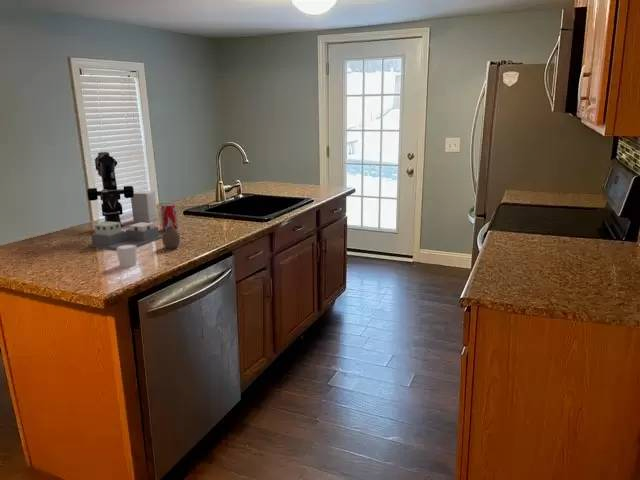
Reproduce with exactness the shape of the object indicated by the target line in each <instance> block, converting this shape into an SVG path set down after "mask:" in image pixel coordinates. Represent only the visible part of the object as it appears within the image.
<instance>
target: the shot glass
mask: <svg viewBox="0 0 640 480" xmlns="http://www.w3.org/2000/svg"><path fill="white" fill-rule="evenodd" d="M116 249H117V250H116V253H117V257H118V261H119V266H120V268H132V267H135V266H137V261H138V260H137V247H136V245H121V246H118V247H117V248H116Z"/></svg>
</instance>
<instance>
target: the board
mask: <svg viewBox="0 0 640 480" xmlns="http://www.w3.org/2000/svg"><path fill="white" fill-rule="evenodd" d="M90 236H91V242H90V243H88V244H87V247H88V246H89V247H88V248H95V247H97V248H98V249H103V248H104V250H111V251H112V250H113V251H117V249H116V248H117V247H118V246H121V245H136V248H139V247H141V246H144V245H147V244H150V243H152V242H155V241H157V240H160V239H161V240H162V238H163V234H159V227H158V226H154V228H152V229H149V230H146V231H134V230H130V228H128V229H126V230H121V232H120V233H116V234H113V235H110V236H105V235H96V232H95V233H93V234H91V235H90ZM97 248H96V249H97Z"/></svg>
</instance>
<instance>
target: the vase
mask: <svg viewBox="0 0 640 480" xmlns="http://www.w3.org/2000/svg"><path fill="white" fill-rule="evenodd" d="M162 235H163V238H161V240H162V243H163V246H164V247H165V248H166V249H168V250H170V249H171V250H173V249H177V248H178V247H179V246H180V243H181V236H180V233H179V231H177V229H176V230H175V229H174V227H173V226H168V227H167V229H166V230H164V232H163V234H162Z"/></svg>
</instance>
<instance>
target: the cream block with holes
mask: <svg viewBox="0 0 640 480" xmlns="http://www.w3.org/2000/svg"><path fill="white" fill-rule="evenodd" d="M128 227H129V229H130V230H134V231H146V230H149V229H152V228H154V227H155V225H154V222H150V223H145V222H140V223H138V222H135V223H133V224H131V225H130V224H129V226H128Z"/></svg>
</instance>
